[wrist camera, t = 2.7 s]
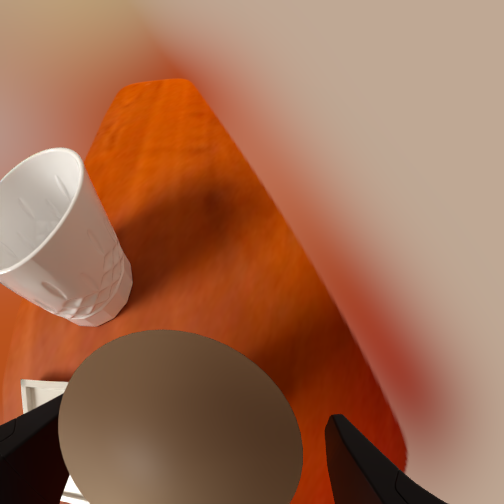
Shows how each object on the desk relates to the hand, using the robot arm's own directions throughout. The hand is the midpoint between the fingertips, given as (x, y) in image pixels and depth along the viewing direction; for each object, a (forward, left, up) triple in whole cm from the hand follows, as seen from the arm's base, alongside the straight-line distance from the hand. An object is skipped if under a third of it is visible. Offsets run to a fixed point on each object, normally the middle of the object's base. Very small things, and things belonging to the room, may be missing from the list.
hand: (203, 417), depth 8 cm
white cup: (+10, +8, -8) cm, 15 cm away
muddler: (0, 0, -8) cm, 8 cm away
